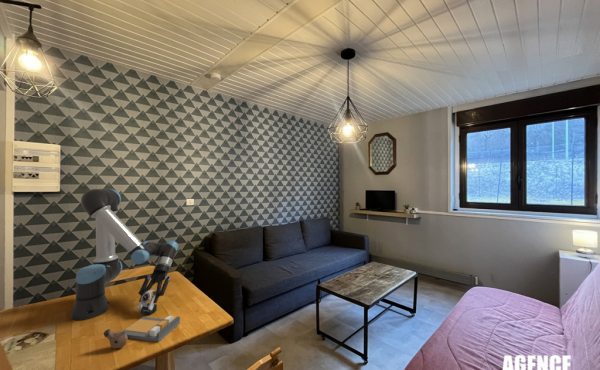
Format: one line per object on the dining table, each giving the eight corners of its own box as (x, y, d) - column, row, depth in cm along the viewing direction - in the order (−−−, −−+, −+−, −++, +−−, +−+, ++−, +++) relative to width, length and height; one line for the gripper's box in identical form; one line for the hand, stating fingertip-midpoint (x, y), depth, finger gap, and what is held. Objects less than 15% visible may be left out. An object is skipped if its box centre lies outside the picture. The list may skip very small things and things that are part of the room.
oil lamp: (100, 352, 97) (100, 332, 97) (106, 345, 101) (106, 326, 101) (124, 350, 99) (125, 330, 99) (129, 343, 103) (130, 324, 103)
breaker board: (118, 336, 107) (118, 327, 107) (143, 319, 121) (143, 311, 121) (158, 342, 104) (159, 332, 104) (179, 323, 118) (179, 315, 118)
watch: (137, 314, 123) (139, 293, 123) (150, 307, 131) (151, 287, 131) (147, 316, 122) (148, 295, 122) (159, 308, 130) (160, 288, 130)
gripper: (180, 269, 143) (164, 312, 126) (149, 269, 142) (130, 311, 126) (176, 263, 137) (159, 307, 121) (144, 263, 137) (123, 306, 120)
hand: (144, 309), depth 123 cm, fingers closed on watch, 5 cm apart
